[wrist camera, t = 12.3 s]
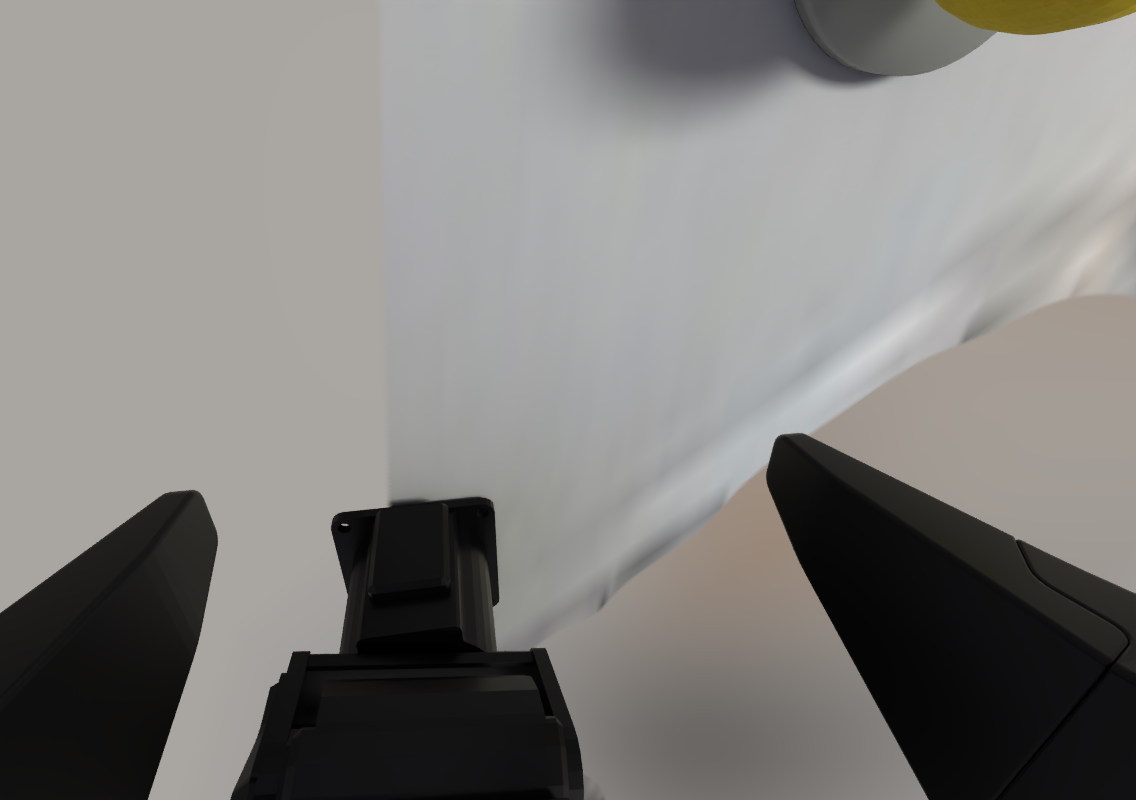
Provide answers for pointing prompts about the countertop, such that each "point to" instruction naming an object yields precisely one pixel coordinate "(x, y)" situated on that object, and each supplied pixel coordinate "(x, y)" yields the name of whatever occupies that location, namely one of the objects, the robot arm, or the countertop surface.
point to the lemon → (1036, 14)
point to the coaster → (889, 34)
